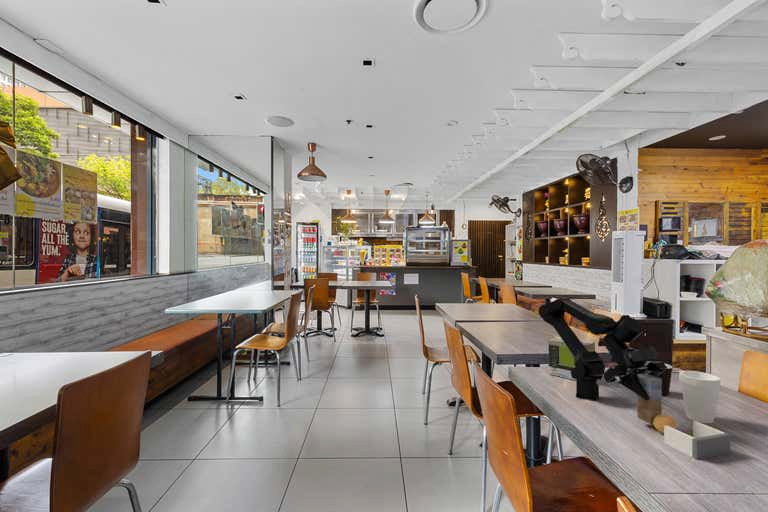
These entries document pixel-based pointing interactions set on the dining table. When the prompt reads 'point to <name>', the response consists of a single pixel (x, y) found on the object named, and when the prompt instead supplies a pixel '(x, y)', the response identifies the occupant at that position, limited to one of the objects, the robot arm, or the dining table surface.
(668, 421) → the ball
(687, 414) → the foam cup
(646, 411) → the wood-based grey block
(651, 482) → the dining table surface
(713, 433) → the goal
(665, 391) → the coffee mug
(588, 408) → the dining table surface
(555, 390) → the dining table surface
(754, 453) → the dining table surface
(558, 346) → the tea box
